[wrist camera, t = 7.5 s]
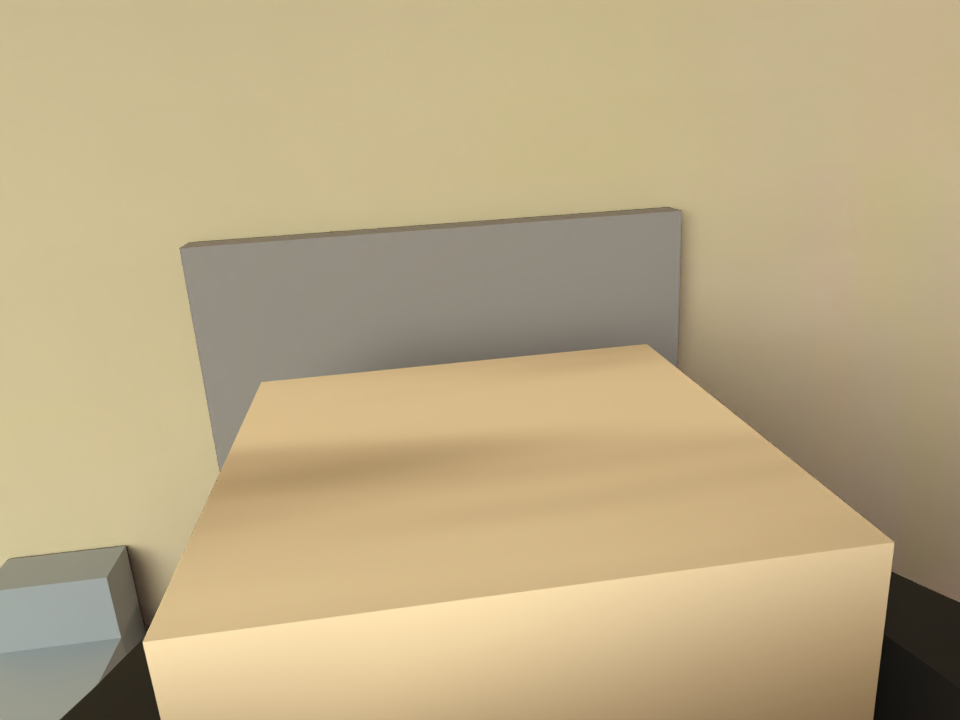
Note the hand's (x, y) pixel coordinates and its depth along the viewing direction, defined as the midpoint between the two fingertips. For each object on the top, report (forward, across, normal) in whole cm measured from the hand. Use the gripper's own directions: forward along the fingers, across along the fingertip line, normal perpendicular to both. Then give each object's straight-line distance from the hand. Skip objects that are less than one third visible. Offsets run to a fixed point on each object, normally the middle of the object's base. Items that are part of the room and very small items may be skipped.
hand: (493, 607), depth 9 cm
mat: (+5, 0, 0) cm, 5 cm away
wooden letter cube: (+2, 0, 0) cm, 2 cm away
